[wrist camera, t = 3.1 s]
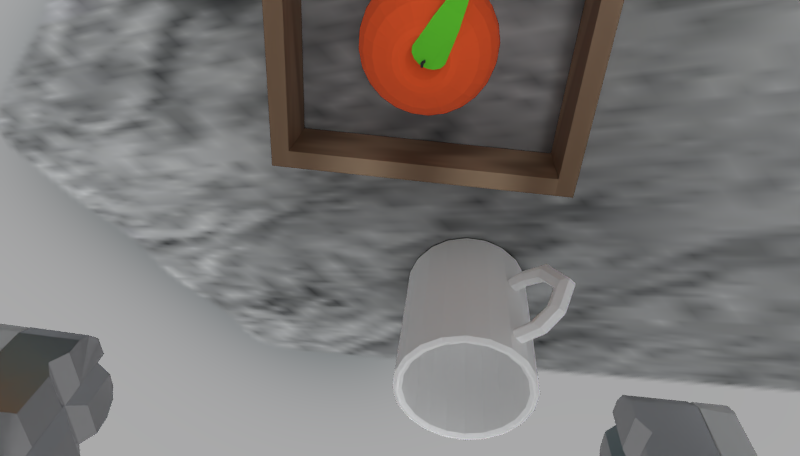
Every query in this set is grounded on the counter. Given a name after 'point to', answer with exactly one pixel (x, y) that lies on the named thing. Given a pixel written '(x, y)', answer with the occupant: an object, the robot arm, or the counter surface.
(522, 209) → the counter surface
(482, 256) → the mug
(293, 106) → the wooden frame
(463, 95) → the clementine
